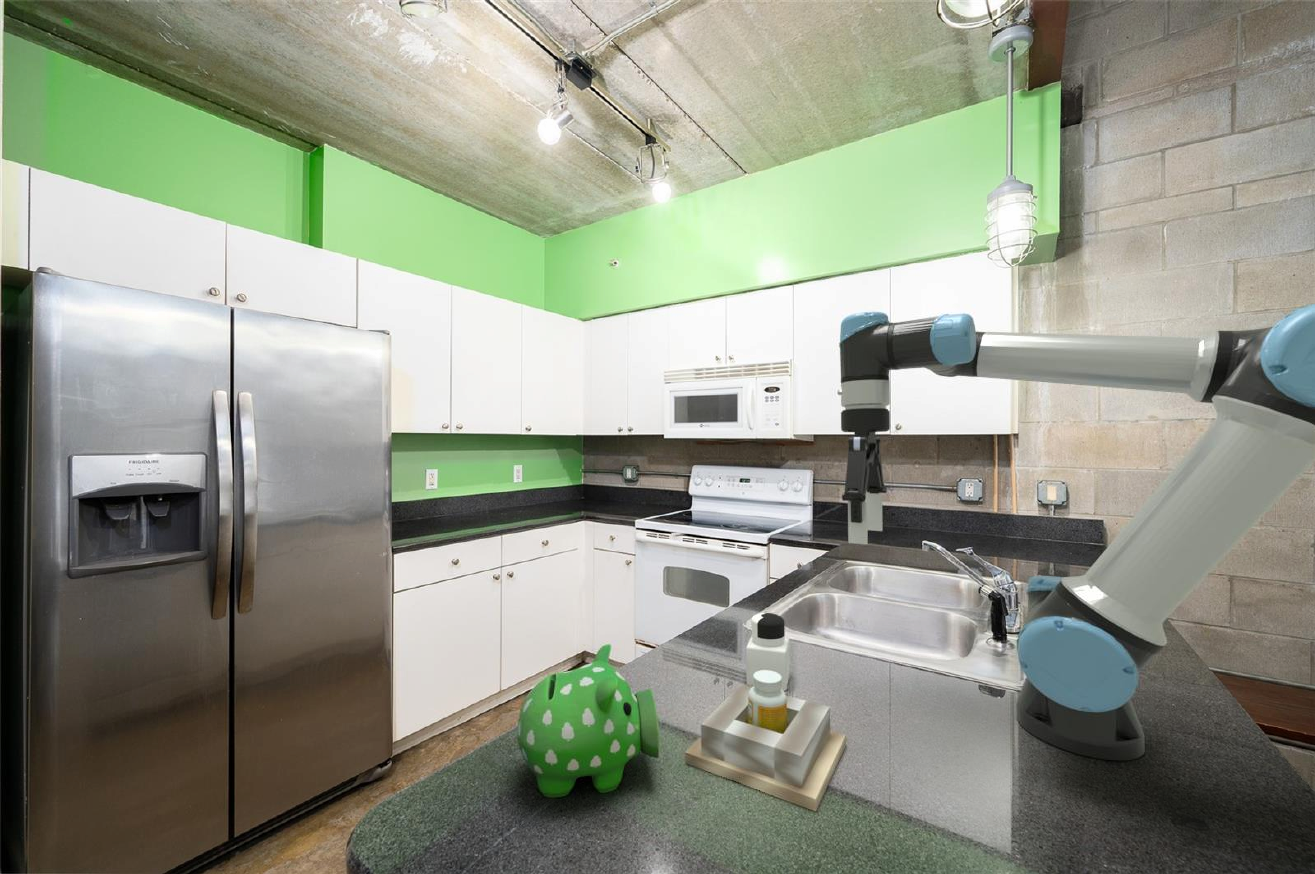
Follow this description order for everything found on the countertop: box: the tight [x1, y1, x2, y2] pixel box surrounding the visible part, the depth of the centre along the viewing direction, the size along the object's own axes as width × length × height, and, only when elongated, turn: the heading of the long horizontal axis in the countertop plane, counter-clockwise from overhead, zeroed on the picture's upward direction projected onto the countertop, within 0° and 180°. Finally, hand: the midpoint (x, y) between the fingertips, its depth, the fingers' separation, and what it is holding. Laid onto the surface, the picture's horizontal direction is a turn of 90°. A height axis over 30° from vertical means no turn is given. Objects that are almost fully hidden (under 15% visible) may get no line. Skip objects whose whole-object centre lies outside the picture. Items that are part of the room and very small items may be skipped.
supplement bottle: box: [748, 670, 787, 734], centre depth 74 cm, size 5×5×10 cm
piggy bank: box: [517, 643, 660, 798], centre depth 70 cm, size 14×18×15 cm
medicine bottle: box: [745, 612, 791, 692], centre depth 97 cm, size 7×7×12 cm
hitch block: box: [684, 683, 847, 812], centre depth 74 cm, size 18×16×6 cm
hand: (866, 536), depth 86 cm, fingers open, 13 cm apart
